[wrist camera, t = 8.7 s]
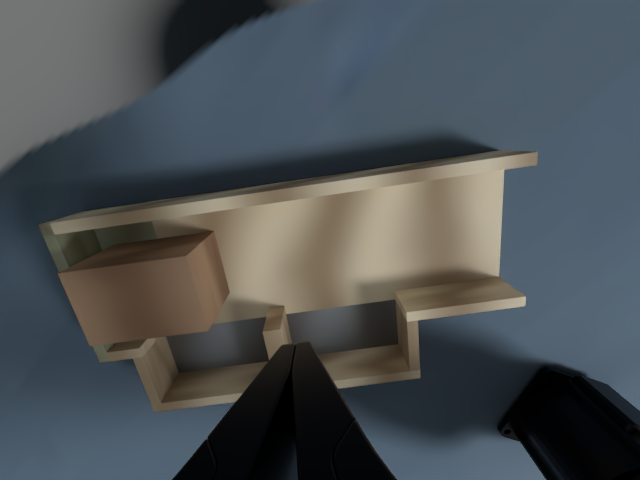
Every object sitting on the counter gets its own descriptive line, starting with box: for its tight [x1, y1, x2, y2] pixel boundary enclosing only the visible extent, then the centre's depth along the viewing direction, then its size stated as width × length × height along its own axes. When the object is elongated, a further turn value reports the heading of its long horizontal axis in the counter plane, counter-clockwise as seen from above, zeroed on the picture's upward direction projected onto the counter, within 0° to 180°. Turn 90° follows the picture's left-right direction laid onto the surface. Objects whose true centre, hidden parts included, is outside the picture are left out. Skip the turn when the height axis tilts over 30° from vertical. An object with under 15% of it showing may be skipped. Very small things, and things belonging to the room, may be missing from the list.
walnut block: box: [57, 231, 230, 346], centre depth 16 cm, size 6×4×4 cm, turn 98°
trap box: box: [38, 150, 538, 412], centre depth 17 cm, size 24×12×3 cm, turn 98°
